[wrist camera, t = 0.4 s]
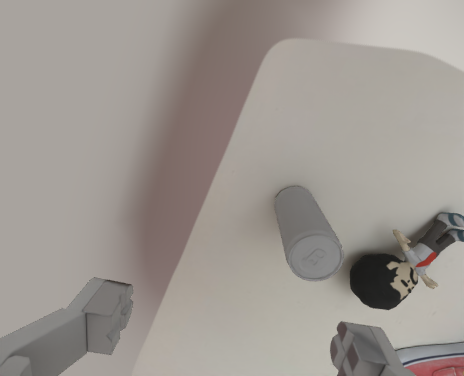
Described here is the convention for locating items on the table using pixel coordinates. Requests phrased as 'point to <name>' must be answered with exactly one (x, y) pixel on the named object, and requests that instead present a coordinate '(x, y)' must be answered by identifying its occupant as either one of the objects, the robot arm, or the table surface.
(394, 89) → the table surface
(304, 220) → the beverage can
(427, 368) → the boot
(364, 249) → the table surface
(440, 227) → the figurine
